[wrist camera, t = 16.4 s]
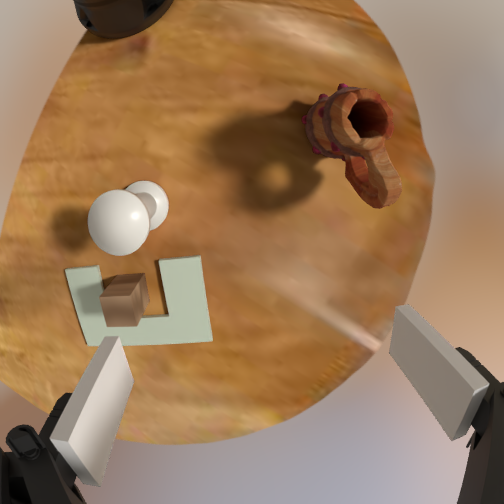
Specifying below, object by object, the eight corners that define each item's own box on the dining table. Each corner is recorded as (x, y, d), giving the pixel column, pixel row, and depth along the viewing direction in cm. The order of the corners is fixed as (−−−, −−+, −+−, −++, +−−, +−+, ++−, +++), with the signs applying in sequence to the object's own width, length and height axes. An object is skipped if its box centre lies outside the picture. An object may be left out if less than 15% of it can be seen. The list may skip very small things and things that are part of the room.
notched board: (67, 268, 45) (64, 269, 44) (200, 255, 46) (199, 256, 45) (89, 343, 49) (88, 346, 48) (212, 338, 50) (212, 341, 49)
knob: (118, 184, 42) (83, 195, 30) (165, 177, 42) (143, 185, 30) (125, 232, 44) (94, 258, 32) (171, 226, 44) (153, 252, 33)
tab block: (117, 274, 46) (98, 297, 38) (144, 273, 46) (130, 295, 38) (123, 301, 47) (106, 327, 39) (149, 300, 47) (137, 326, 39)
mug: (289, 105, 40) (319, 82, 26) (341, 90, 40) (390, 66, 26) (323, 203, 45) (366, 227, 30) (372, 185, 44) (429, 201, 30)
